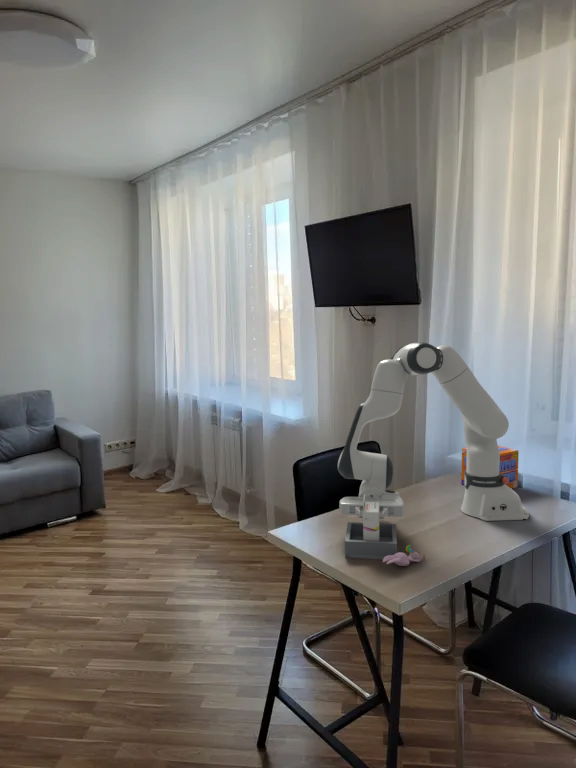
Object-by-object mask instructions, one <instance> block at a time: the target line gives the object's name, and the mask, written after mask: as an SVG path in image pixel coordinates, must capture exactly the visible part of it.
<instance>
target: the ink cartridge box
mask: <svg viewBox="0 0 576 768" xmlns="http://www.w3.org/2000/svg"><path fill="white" fill-rule="evenodd" d="M364 500H365V493H364ZM379 512H380V511H379V502H364V501H363V518H362V523H363V540H365V541H379V523H380V519H379Z"/></svg>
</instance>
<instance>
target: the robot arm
mask: <svg viewBox="0 0 576 768" xmlns="http://www.w3.org/2000/svg"><path fill="white" fill-rule="evenodd" d="M376 365H377V366H376V368H375V371H374V374H373V378H372V383H371V387H370V393H369V394H368V397H367V399H366V400H365V402H363V403H360V404H359V406H358V407H357V410H356V411H355V415H354V417H353V420H352V423H351V426H350V429H349V431H348V432H349V433H348V435H347V438H346V442H345V445H344V448H343V450H342V451H341V453H340V454H339V458H338V461H337V471H338V473H339V474H340V476H342V477H343V478H344V479H347V480H360V481H361V484H360V486H359V493H358V496H344V497H342V498H341V499H340V500H339V502H338V503H339V505H338V507H339V514H341V515H349V516H350V515H351V516H354V515H355V516H357V518H358V519H363V501H364V502H379V511H380V512H379V520H382V519H383V520H384V519H385V518H386V517H404V516H405V503H404V499H403V498H402V497H401V496H400V493H399V492H398V491H394V490H390V489H388V488H390V486H391V485H392V481H393V476H394V475H393V473H394V467H393V466H394V465H393V461H392V460H391V458H390V457H389V455H387V454H383V453H376V452H369V451H362V450H359V449H357V447H358V444H359V441H360V438H361V434H362V431H363V428H364V427H365V426H366V425H367V424H368V423H371V422H374V421H378V420H382V419H386V418H390V417H392V416H394V415H396V414H397V413H398V412H399V410H400V409H401V407H402V403H403V399H404V392H405V385H406V382H407V379H408V378H409V377H410V376H412V377H413V376H414V377H416V376H420V375H427V374H431V373H432V375H433V376H434V377H435V379H437V381H438V383H439V384H440V386H441V387H442V389H443V390H444V392H445V393H446V395H447V396H448V398H449V399H450V400H451V402H452V403H453V404H454V405H455V406H456V408H457V409H458V410H459V411H460V413H461V417H462V422H463V433H464V440H465V447H466V449H467V466H466V471H465V485H464V488H465V489H464V495H463V501H462V503H461V507H460V510H461V512H462V513H463V514H465V515H466V516H467V515H468V516H470V517H474V518H478V519H480V520H482V521H485V522H486V521H488V522H489V521H490V522H493V521H522V520H523V519H526V520H528V519H529V518H528V517H530V512H529V511H528V509H527V508H526V507H524V505H523V503H522V499H521V497H520V496H519V494H518V493H517V492H516V491H515V490H514V489H511V488H509V487H508V486H507V485H505V484H508V483H509V480H508V478H507V477H505V476H504V475H502V474H501V473H499V467H500V451H499V448H498V446H499V444H498V440H497V439H500V438H502V437H503V436H505V435H506V434H507V432H508V430H509V424H510V423H509V420H508V417H507V415H506V414H505V413H504V412H503V411H502V409H501V408H500V407H499V405H498V403H496V402H495V400H494V398H492V396H491V395H490V394H489V393H488V392H487V390H486V389H484V387H483V386H482V384H480V381H478V379H477V377H476V376H475V375H474V373H473V372H472V371H471V369H470V367H469V365H468V364H467V363H466V362H465V361H464V359H463V358H462V356H460V354H459V353H458V352H457V351H456V350H455V349H454V348H453V347H452V346H450V345H448V344H441V345H438V346H434V345H433V344H431V343H428V342H412V343H409V344H407V345H403V346H400V348H399V347H398V349H397V350H396V351H395V353H394V354H393V355H392V357H390V358H389V359H383V360H381V361H380V362H379V363H378V364H376ZM364 493H365V500H364Z"/></svg>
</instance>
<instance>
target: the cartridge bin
mask: <svg viewBox="0 0 576 768" xmlns="http://www.w3.org/2000/svg"><path fill="white" fill-rule="evenodd" d="M345 532H346V533H345V539H344V558H351V559H368V560H370V559H371V560H383V559H384V557H385V556H388V555H394V554H396V553H398V540H397V539H398V538H397V525H396V523H381V522H379V541H365V540H363V522H358V521H355V522H354V521H347V526H346V531H345Z"/></svg>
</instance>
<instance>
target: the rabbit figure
mask: <svg viewBox="0 0 576 768" xmlns="http://www.w3.org/2000/svg"><path fill="white" fill-rule="evenodd" d="M405 551H406V552H407V553H409V555H407V554H406V553H404V552H401V551H400V552H399V551H398V552H397V553H396V554H394V555H388V556H385V557H384V559H382V563H385V562H386V565H390V564H392V563H394V564H395V565H397V566H400V567H408V566H410V563H412V562H414V563H421V562H422V561H423V560H424V561H426V560H427V556H426V555H427V554H426V553H425V554H420V552H419V551H418V550H417V551H414V550H413V548H411V544H409V545H408V544H407V545H406V547H405Z"/></svg>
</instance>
